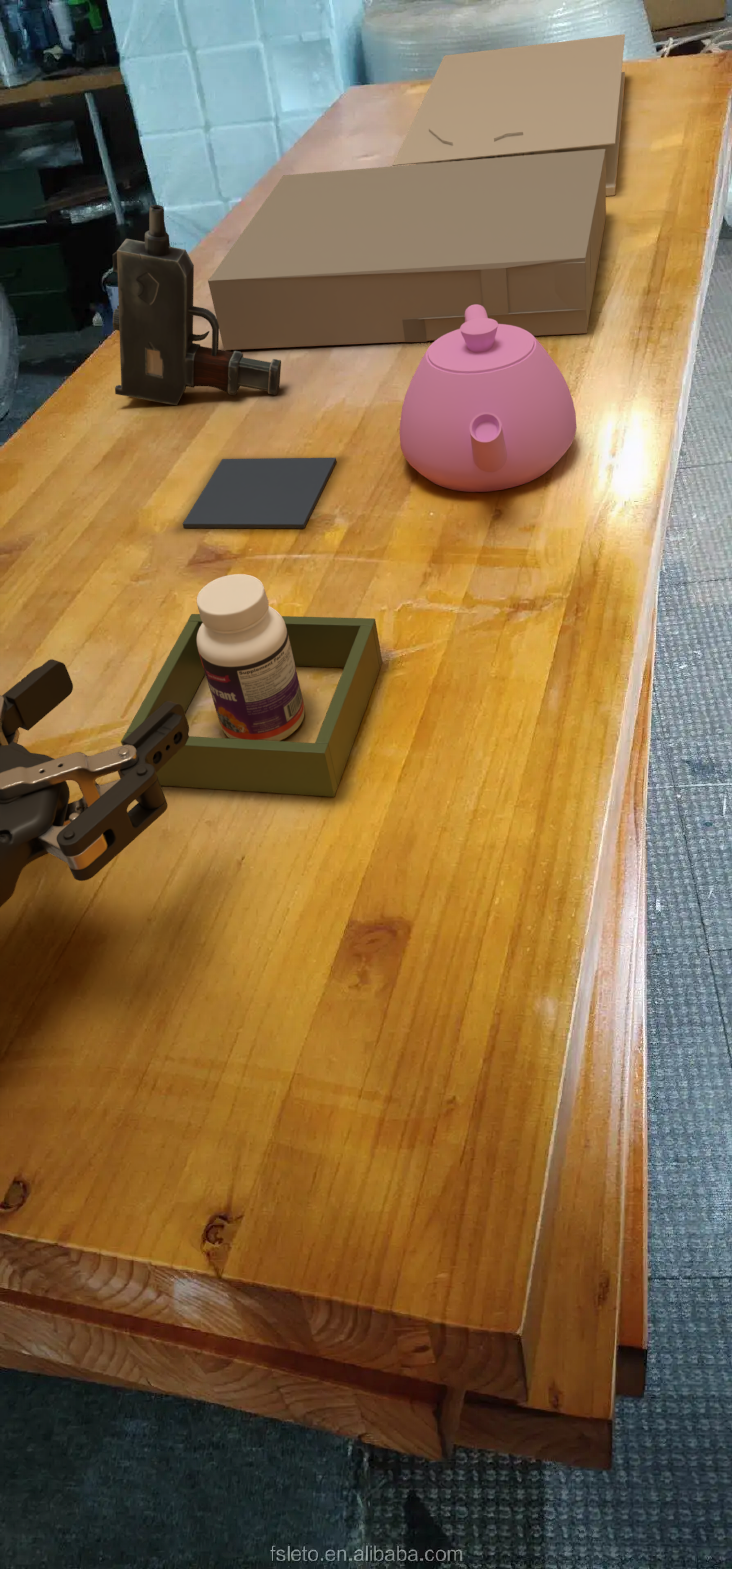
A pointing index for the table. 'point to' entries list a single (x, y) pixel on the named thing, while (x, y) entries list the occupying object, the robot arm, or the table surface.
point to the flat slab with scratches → (523, 104)
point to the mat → (261, 493)
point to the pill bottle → (248, 660)
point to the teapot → (486, 408)
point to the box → (416, 252)
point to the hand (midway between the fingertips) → (120, 693)
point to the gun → (172, 327)
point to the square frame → (273, 760)
